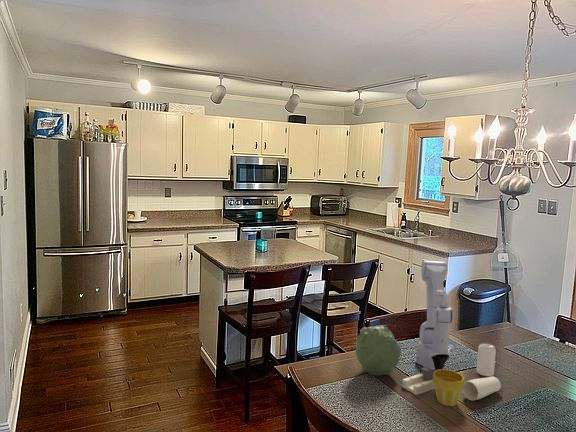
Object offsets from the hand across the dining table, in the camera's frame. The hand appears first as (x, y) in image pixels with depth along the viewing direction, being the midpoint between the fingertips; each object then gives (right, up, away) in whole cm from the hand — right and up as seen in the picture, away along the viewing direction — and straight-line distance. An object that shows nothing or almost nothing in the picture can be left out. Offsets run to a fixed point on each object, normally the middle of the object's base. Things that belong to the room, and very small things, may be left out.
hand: (438, 371), depth 172 cm
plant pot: (-2, -6, -14) cm, 16 cm away
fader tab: (-5, -3, -3) cm, 6 cm away
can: (+22, -4, +9) cm, 24 cm away
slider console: (-7, -4, -4) cm, 9 cm away
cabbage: (-23, -3, +5) cm, 24 cm away
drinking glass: (+20, -3, -5) cm, 21 cm away
